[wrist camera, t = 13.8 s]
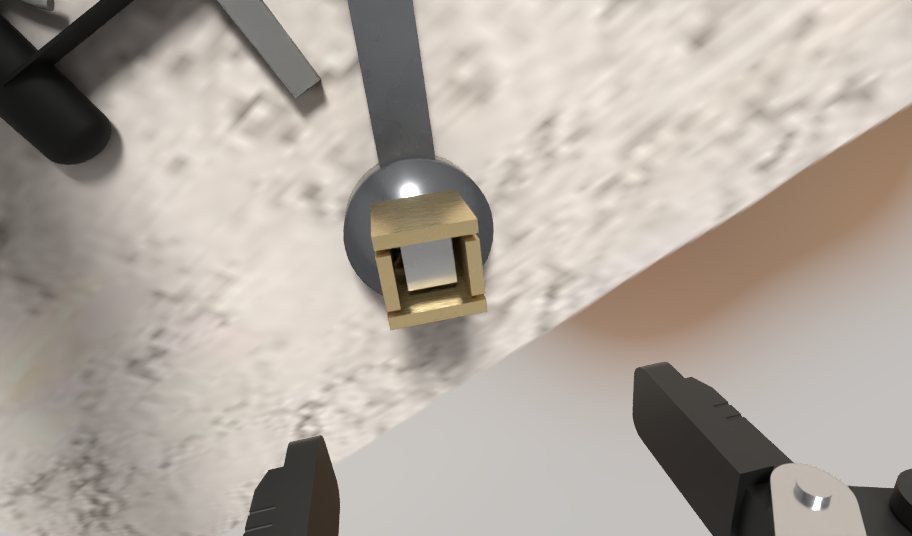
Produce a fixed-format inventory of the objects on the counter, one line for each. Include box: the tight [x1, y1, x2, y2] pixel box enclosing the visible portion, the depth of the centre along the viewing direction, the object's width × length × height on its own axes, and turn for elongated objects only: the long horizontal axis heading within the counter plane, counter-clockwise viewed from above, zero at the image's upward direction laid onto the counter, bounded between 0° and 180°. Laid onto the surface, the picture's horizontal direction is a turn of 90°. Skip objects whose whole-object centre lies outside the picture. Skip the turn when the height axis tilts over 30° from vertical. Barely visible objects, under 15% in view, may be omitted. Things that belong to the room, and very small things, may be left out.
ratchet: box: [344, 0, 493, 295], centre depth 25 cm, size 9×22×7 cm, turn 8°
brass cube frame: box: [370, 189, 487, 330], centre depth 26 cm, size 5×5×6 cm
